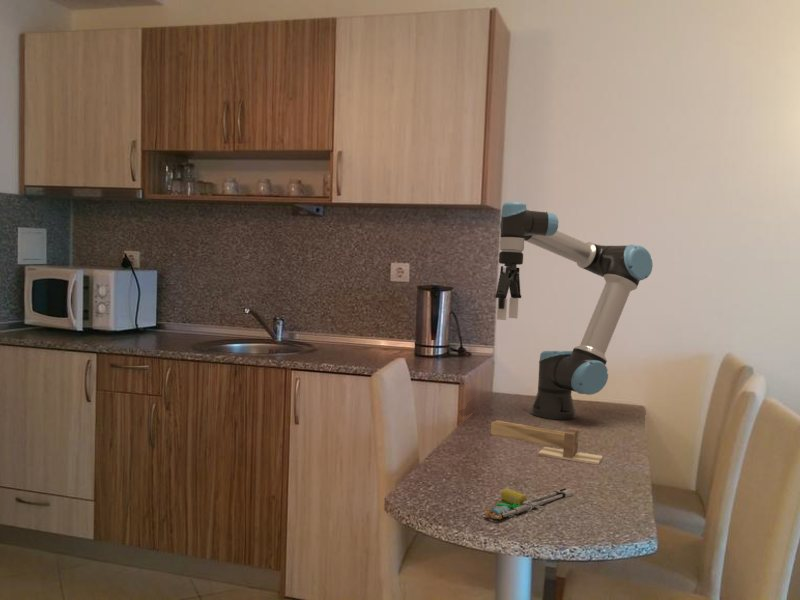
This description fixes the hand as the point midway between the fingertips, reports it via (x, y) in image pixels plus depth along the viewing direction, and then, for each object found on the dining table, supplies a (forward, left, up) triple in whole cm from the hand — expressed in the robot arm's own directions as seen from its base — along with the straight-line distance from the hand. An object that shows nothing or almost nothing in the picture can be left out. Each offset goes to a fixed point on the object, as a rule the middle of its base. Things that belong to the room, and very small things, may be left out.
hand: (507, 319), depth 217 cm
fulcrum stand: (+23, +26, -35) cm, 49 cm away
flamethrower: (+69, +25, -35) cm, 82 cm away
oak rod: (+10, +12, -35) cm, 39 cm away
